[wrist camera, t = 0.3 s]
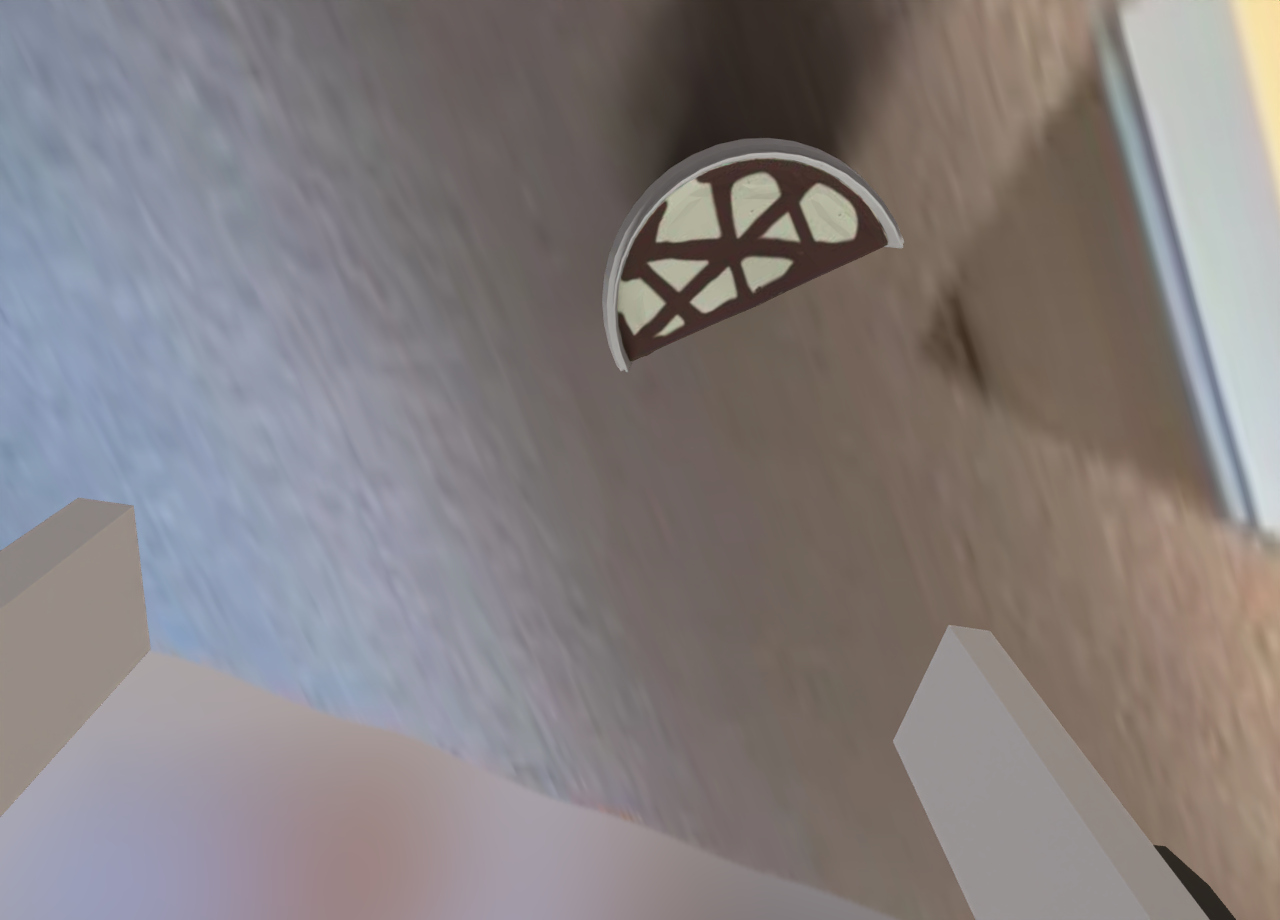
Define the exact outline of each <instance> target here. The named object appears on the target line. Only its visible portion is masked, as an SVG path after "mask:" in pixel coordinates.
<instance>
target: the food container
mask: <svg viewBox="0 0 1280 920" xmlns="http://www.w3.org/2000/svg"><path fill="white" fill-rule="evenodd" d="M903 243H905V242H904V240H903V238H902V235H901V233H900V230H899V228H898V226H897V223H896V221H895V219H894V218H893V216H892V215H891V213H890V211H889V210H888V208H887V207H886V205H885V203H884V202H883V200H882V199H881V198H880V197H879V196H878V194H877V193H876V192H875V191H874V190H873V189H872V188H871V187H870V186H869V184H868V183H867V182H866V181H865V180H864V179H863V178H862V177H861V176H860V175H859V174H858V173H856V172H855V171H854V170H853V169H851V168H850V167H849V166H847V165H846V164H845V163H843V162H842V161H841V160H839V159H837V158H835V157H833V156H831V155H829V154H828V153H826V152H824V151H822V150H820V149H818V148H815V147H811V146H808V145H805V144H802V143H798V142H795V141H789V140H782V139H774V138H754V139H740V140H736V141H731V142H727V143H722V144H718V145H715V146H713V147H710V148H708V149H705V150H703V151H700V152H698V153H695V154H693V155H691V156H689V157H688V158H686V159H685V160H683V161H681V162H680V163H678V164H676V165H675V166H673V167H672V168H670V169H669V170H668V171H666V172H665V173H664V174H663V175H662V176H661V177H659V178H658V179H657V180H656V181H655V182H654V183H653V184H651V185H650V186H649V187H648V189H647V190H646V191H645V192H644V193H643V195H642V196H641V197H640V198H639V199H638V200H637V202H636V203H635V204H634V205H633V207H632V208H631V210H630V212H629V213H628V215H627V217H626V218H625V220H624V222H623V223H622V225H621V227H620V229H619V231H618V233H617V236H616V238H615V241H614V243H613V245H612V248H611V250H610V254H609V258H608V262H607V266H606V270H605V275H604V286H603V297H602V302H603V316H604V325H605V330H606V334H607V339H608V343H609V347H610V349H611V352H612V355H613V357H614V360H615V362H616V365H617V366H618V368H619V369H620V370H621V371H622V370H624V369H625V371H626V372H628V370H629V368H630V366H631V364H632V362H633V361H634V360H636V359H638V358H640V357H644V356H647V355H649V354H650V353H652V352H653V351H655V350H657V349H659V348H661V347H663V346H665V345H668V344H670V343H672V342H675V341H677V340H679V339H681V338H684V337H686V336H688V335H690V334H693V333H695V332H697V331H699V330H702V329H704V328H706V327H708V326H711V325H713V324H715V323H718V322H720V321H722V320H725V319H727V318H729V317H732V316H734V315H737V314H739V313H741V312H744V311H746V310H748V309H751V308H753V307H756V306H758V305H760V304H762V303H764V302H766V301H768V300H770V299H772V298H774V297H776V296H778V295H780V294H782V293H784V292H786V291H789V290H791V289H793V288H795V287H797V286H799V285H801V284H804V283H806V282H808V281H810V280H812V279H814V278H817V277H819V276H821V275H823V274H825V273H828V272H830V271H832V270H834V269H836V268H839V267H841V266H843V265H845V264H847V263H849V262H852V261H854V260H856V259H858V258H860V257H863V256H865V255H867V254H869V253H871V252H873V251H876V250H878V249H880V248H882V247H894V248H903Z"/></svg>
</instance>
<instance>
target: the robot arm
mask: <svg viewBox="0 0 1280 920" xmlns="http://www.w3.org/2000/svg"><path fill="white" fill-rule="evenodd" d="M149 651H150V641H149V632H148V624H147V615H146V607H145V598H144V590H143V582H142V573H141V565H140V556H139V548H138V539H137V531H136V523H135V514H134V506H132V505H125V504H118V503H111V502H105V501H98V500H91V499H84V498H77V499H76V500H74V501H73V502H71V503H70V504H68V505H67V506H66V507H64V508H63V509H61V510H60V511H58V512H57V513H55V514H54V515H52V516H51V517H49V518H48V519H46V520H45V521H44V522H42V523H41V524H39V525H38V526H36V527H35V528H33V529H32V530H30V531H29V532H27V533H26V534H24V535H23V536H22V537H20V538H19V539H17V540H16V541H14V542H13V543H11V544H10V545H8V546H7V547H5V548H4V549H2V550H1V551H0V817H1V816H2V815H3V814H4V812H5V811H6V810H7V809H8V808H9V807H10V806H11V805H12V804H13V802H14V801H15V800H16V799H17V798H18V797H19V795H21V793H22V792H23V791H24V790H25V789H26V788H27V787H28V785H30V783H31V782H32V781H33V780H34V779H35V778H36V777H37V776H38V775H39V773H40V772H41V771H42V770H43V769H44V768H45V767H46V765H47V764H48V763H49V762H50V761H51V760H52V759H53V758H54V757H55V755H56V754H57V753H58V752H59V751H60V750H61V749H62V748H63V747H64V745H65V744H66V743H67V742H68V741H69V740H70V739H71V738H72V736H73V735H74V734H75V733H76V732H77V731H78V730H79V729H80V728H81V727H82V725H83V724H84V723H85V722H86V721H87V720H88V719H89V718H90V716H91V715H92V714H93V713H94V712H95V711H96V710H97V709H98V707H99V706H100V705H101V704H102V703H103V702H104V701H105V700H106V699H107V697H108V696H109V695H110V694H111V693H112V692H113V691H114V690H115V689H116V687H117V686H118V685H119V684H120V683H121V682H122V681H123V680H124V678H125V677H126V676H127V675H128V674H129V673H130V672H131V671H132V669H133V668H134V667H135V666H136V665H137V664H138V663H139V662H140V660H141V659H142V658H143V657H144V656H145V655H146V654H147V653H148V652H149ZM893 742H894V745H895V747H896V749H897V751H898V753H899V755H900V758H901V760H902V762H903V764H904V766H905V768H906V771H907V773H908V775H909V777H910V779H911V781H912V784H913V786H914V788H915V790H916V792H917V794H918V796H919V799H920V801H921V803H922V805H923V807H924V809H925V812H926V814H927V816H928V818H929V820H930V822H931V825H932V827H933V829H934V831H935V833H936V835H937V838H938V840H939V842H940V844H941V846H942V848H943V850H944V853H945V855H946V857H947V859H948V861H949V863H950V866H951V868H952V870H953V872H954V874H955V876H956V879H957V881H958V883H959V885H960V887H961V889H962V892H963V894H964V896H965V898H966V900H967V902H968V904H969V907H970V909H971V911H972V913H973V915H974V917H975V920H1236V919H1235V918H1234V916H1233V915H1232V914H1231V913H1230V911H1229V910H1228V909H1227V908H1226V906H1225V905H1224V904H1223V903H1222V901H1221V900H1220V899H1219V898H1218V896H1217V895H1216V894H1215V893H1214V891H1213V890H1212V889H1211V888H1210V886H1209V885H1208V884H1207V883H1206V882H1204V881H1203V880H1202V879H1201V878H1200V877H1199V876H1198V875H1197V874H1196V873H1194V872H1193V871H1192V870H1191V869H1190V868H1189V867H1188V866H1187V865H1186V864H1184V863H1183V862H1182V861H1181V860H1180V859H1179V858H1178V857H1177V856H1176V855H1174V854H1173V853H1172V852H1171V851H1170V850H1169V849H1168V848H1167V847H1166V846H1157V845H1152V843H1151V842H1150V841H1149V839H1148V838H1147V837H1146V835H1145V834H1144V833H1143V831H1142V830H1141V829H1140V827H1139V826H1138V825H1137V824H1136V822H1135V821H1134V820H1133V818H1132V817H1131V816H1130V814H1129V813H1128V812H1127V810H1126V809H1125V808H1124V806H1123V805H1122V804H1121V803H1120V801H1119V800H1118V799H1117V797H1116V796H1115V795H1114V793H1113V792H1112V791H1111V789H1110V788H1109V787H1108V785H1107V784H1106V783H1105V782H1104V780H1103V779H1102V778H1101V776H1100V775H1099V774H1098V772H1097V771H1096V770H1095V768H1094V767H1093V766H1092V764H1091V763H1090V762H1089V760H1088V759H1087V758H1086V757H1085V755H1084V754H1083V753H1082V751H1081V750H1080V749H1079V747H1078V746H1077V745H1076V743H1075V742H1074V741H1073V739H1072V738H1071V737H1070V736H1069V734H1068V733H1067V732H1066V730H1065V729H1064V728H1063V726H1062V725H1061V724H1060V722H1059V721H1058V720H1057V718H1056V717H1055V716H1054V714H1053V713H1052V712H1051V711H1050V709H1049V708H1048V707H1047V705H1046V704H1045V703H1044V701H1043V700H1042V699H1041V697H1040V696H1039V695H1038V693H1037V692H1036V691H1035V690H1034V688H1033V687H1032V686H1031V684H1030V683H1029V682H1028V680H1027V679H1026V678H1025V676H1024V675H1023V674H1022V672H1021V671H1020V670H1019V669H1018V667H1017V666H1016V665H1015V663H1014V662H1013V661H1012V659H1011V658H1010V657H1009V655H1008V654H1007V653H1006V651H1005V650H1004V649H1003V647H1002V646H1001V645H1000V644H999V642H998V641H997V640H996V638H995V637H994V636H993V634H992V633H991V632H990V631H987V630H980V629H973V628H966V627H960V626H953V625H948V628H947V630H946V632H945V634H944V636H943V638H942V640H941V642H940V644H939V646H938V648H937V650H936V653H935V655H934V657H933V659H932V661H931V663H930V665H929V667H928V669H927V671H926V673H925V676H924V678H923V680H922V682H921V684H920V686H919V688H918V690H917V692H916V694H915V696H914V699H913V701H912V703H911V705H910V707H909V709H908V711H907V713H906V715H905V717H904V719H903V721H902V724H901V726H900V728H899V730H898V732H897V734H896V736H895V738H894V740H893Z"/></svg>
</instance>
